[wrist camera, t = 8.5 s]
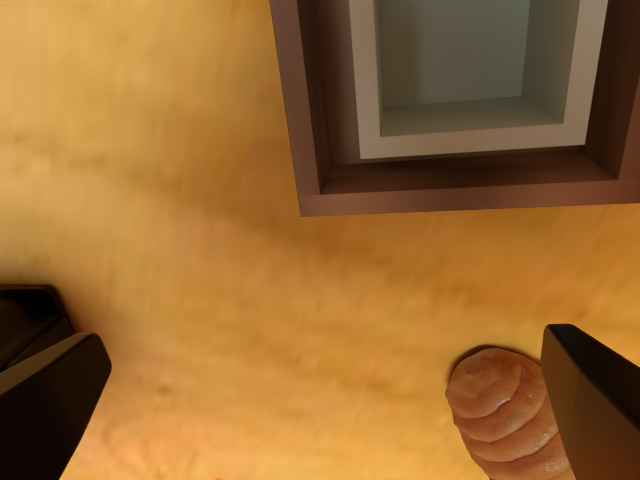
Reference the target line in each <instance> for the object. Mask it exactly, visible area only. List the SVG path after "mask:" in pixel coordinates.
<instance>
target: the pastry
mask: <svg viewBox="0 0 640 480" xmlns="http://www.w3.org/2000/svg"><path fill="white" fill-rule="evenodd" d="M445 395H446V398H447V400H448V403H449V405H450V407H451V409H452V414H453V420H454V424H455V425H456V426H457V427H458V429H459V431H460V433H461V436H462V439H463V441H464V443H465V445H466V448H467V450H468V452H469V453H470V455H471V458H472V459H473V460H474V461H475V463H476V464H477V465H479V466H480V467H481V468H482V469H483V471H484V472H485V473H486V474H487V475H488V476H489V479H490V480H576V479H575V476H574V474H573V471H572V469H571V466H570V464H569V461H568V459H567V456H566V453H565V450H564V447H563V444H562V441H561V437H560V434H559V430H558V427H557V424H556V420H555V417H554V413H553V410H552V406H551V403H550V399H549V396H548V392H547V389H546V385H545V382H544V379H543V375H542V371H541V366H539V365H538V364H536V363H535V362H533V361H531V360H530V359H528V358H526V357H525V356H523V355H521V354H518V353H513V352H509V351H506V350H503V349H501V348H490V349H483V350H482V351H480V352H478V353H476V354H474V355H471V356H469V357H467V358H466V359H464V360H462V361H461V362H460V363H459V365H458V366H457V367H456V369H455V370H454V372H453V374H452V377H451V380H450V382H449V384H448V387H447V389H446V392H445Z"/></svg>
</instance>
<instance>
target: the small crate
mask: <svg viewBox="0 0 640 480" xmlns="http://www.w3.org/2000/svg"><path fill="white" fill-rule="evenodd" d="M607 4H608V0H349V8H350V21H351V35H352V49H353V63H354V76H355V90H356V104H357V118H358V131H359V145H360V159H369V158H385V157H400V156H415V155H431V154H446V153H462V152H477V151H492V150H508V149H523V148H539V147H554V146H570V145H585V139H586V133H587V127H588V121H589V115H590V109H591V102H592V96H593V90H594V84H595V78H596V72H597V65H598V59H599V53H600V47H601V41H602V35H603V28H604V22H605V16H606V10H607Z"/></svg>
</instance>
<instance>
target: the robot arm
mask: <svg viewBox="0 0 640 480" xmlns="http://www.w3.org/2000/svg"><path fill="white" fill-rule="evenodd" d="M540 364H541V371H542V375H543V379H544V382H545V385H546V389H547V392H548V396H549V399H550V403H551V406H552V410H553V413H554V417H555V420H556V424H557V427H558V430H559V434H560V437H561V441H562V444H563V447H564V450H565V453H566V456H567V459H568V461H569V464H570V466H571V469H572V471H573V474H574V476H575V479H576V480H640V367H638V366H637V365H635V364H634V363H632V362H630V361H629V360H627V359H626V358H624V357H623V356H621V355H620V354H618V353H616V352H615V351H613V350H612V349H610V348H609V347H607V346H605V345H604V344H602V343H601V342H599V341H598V340H596V339H595V338H593V337H591V336H590V335H588V334H587V333H585V332H584V331H582V330H580V329H579V328H577V327H576V326H574V325H572V324H548V325H547V326H546V327H545V329H544V334H543V343H542V351H541V360H540ZM111 368H112V364H111V360H110V358H109V355H108V353H107V351H106V348H105V346H104V344H103V342H102V339H101V337H100V336H99V335H98V334H96V333H77V334H76V333H75V331H74V329H73V327H72V325H71V322H70V320H69V318H68V316H67V314H66V311H65V309H64V307H63V305H62V303H61V301H60V298H59V296H58V294H57V292H56V291H55V289H54V288H52V287H51V286H48V285H15V286H0V480H59V479H60V477H61V476H62V474H63V472H64V470H65V468H66V466H67V465H68V463H69V461H70V459H71V457H72V456H73V454H74V452H75V450H76V448H77V446H78V444H79V442H80V441H81V439H82V436H83V434H84V432H85V430H86V428H87V426H88V423H89V421H90V419H91V416H92V414H93V412H94V410H95V407H96V405H97V403H98V401H99V398H100V396H101V394H102V391H103V389H104V387H105V385H106V382H107V380H108V378H109V376H110V373H111Z"/></svg>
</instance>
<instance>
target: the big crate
mask: <svg viewBox="0 0 640 480" xmlns="http://www.w3.org/2000/svg"><path fill="white" fill-rule="evenodd" d="M269 1H270V8H271V15H272V22H273V28H274V35H275V42H276V49H277V56H278V63H279V70H280V77H281V84H282V91H283V98H284V104H285V111H286V118H287V125H288V132H289V139H290V146H291V153H292V160H293V167H294V174H295V181H296V187H297V194H298V201H299V208H300V215H301V217H305V216H329V215H354V214H379V213H404V212H429V211H453V210H478V209H503V208H528V207H552V206H577V205H602V204H627V203H640V0H608V4H607V10H606V16H605V22H604V28H603V35H602V41H601V47H600V53H599V59H598V65H597V72H596V78H595V84H594V90H593V96H592V102H591V109H590V115H589V121H588V127H587V133H586V139H585V145H570V146H554V147H539V148H523V149H508V150H492V151H477V152H462V153H446V154H431V155H415V156H400V157H385V158H369V159H360V145H359V131H358V118H357V104H356V90H355V76H354V63H353V49H352V35H351V21H350V8H349V0H269Z"/></svg>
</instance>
